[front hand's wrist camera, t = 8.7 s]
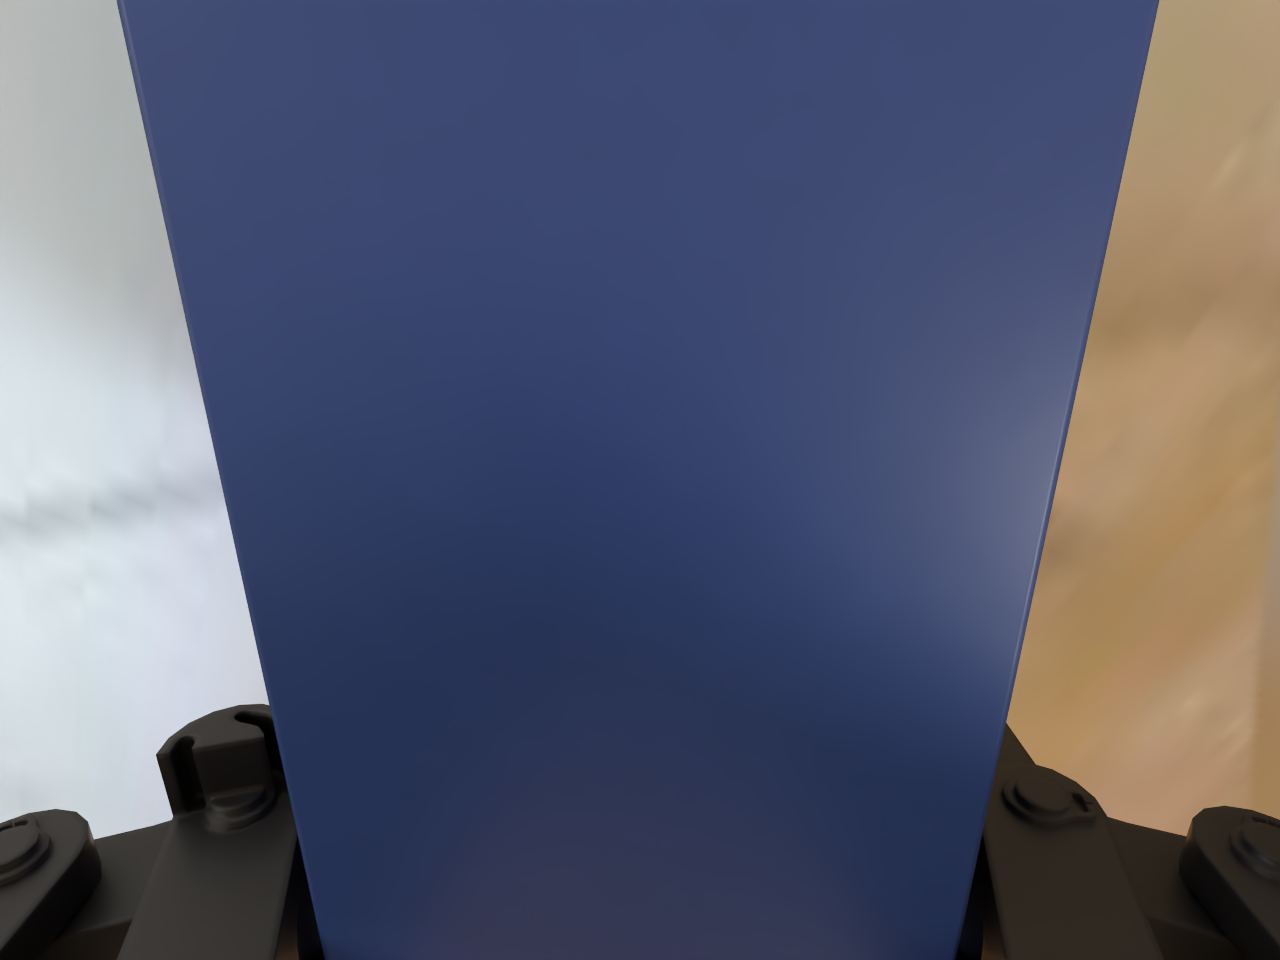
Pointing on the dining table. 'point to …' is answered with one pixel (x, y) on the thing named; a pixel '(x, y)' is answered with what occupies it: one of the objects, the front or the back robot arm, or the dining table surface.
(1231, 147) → the dining table surface
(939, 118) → the bar
